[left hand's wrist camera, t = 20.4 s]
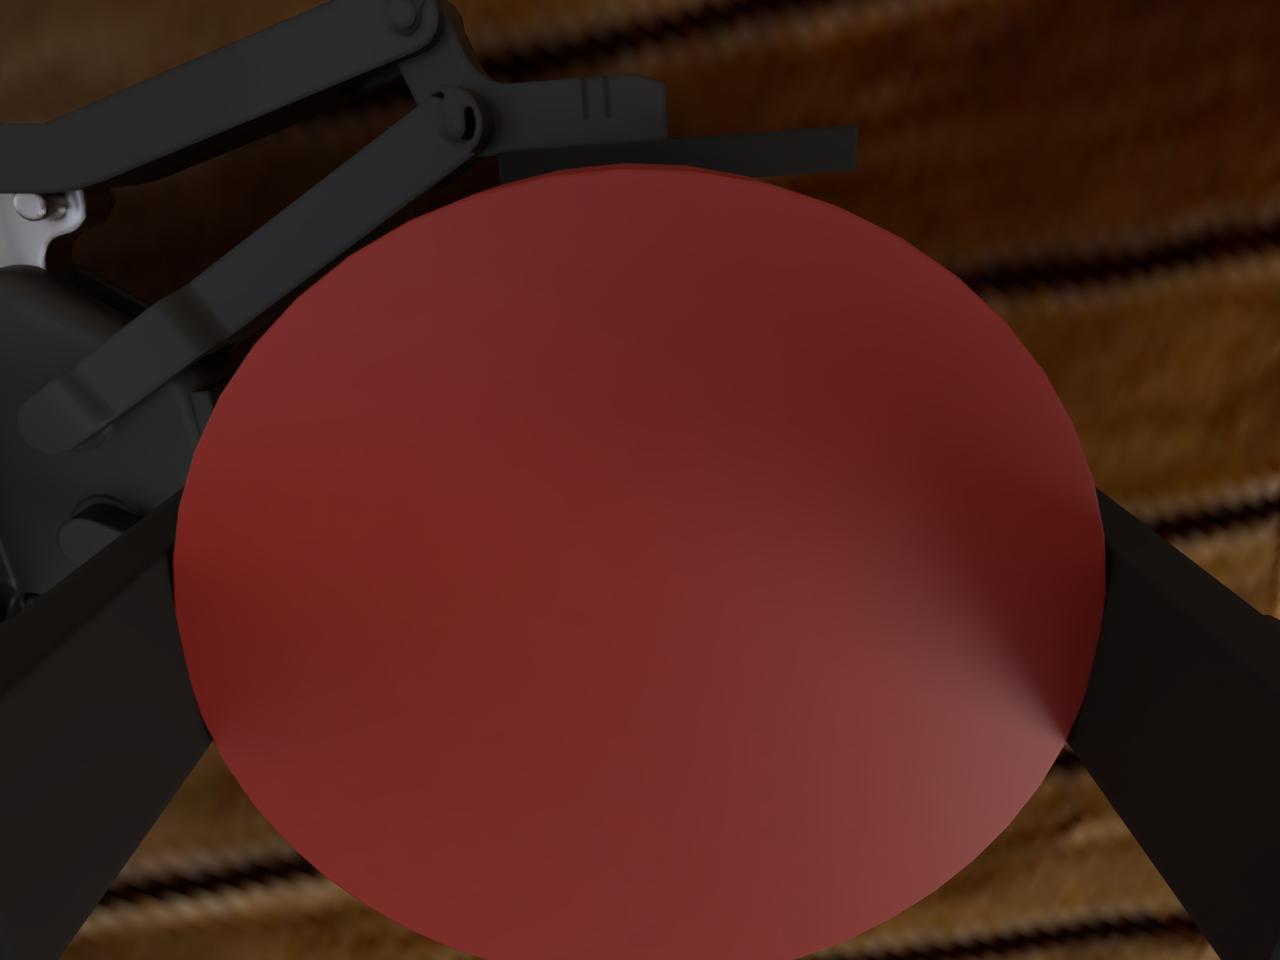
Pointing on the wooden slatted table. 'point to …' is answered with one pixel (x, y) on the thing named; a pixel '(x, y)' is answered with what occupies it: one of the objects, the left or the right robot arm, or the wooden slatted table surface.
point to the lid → (639, 571)
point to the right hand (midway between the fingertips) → (837, 405)
